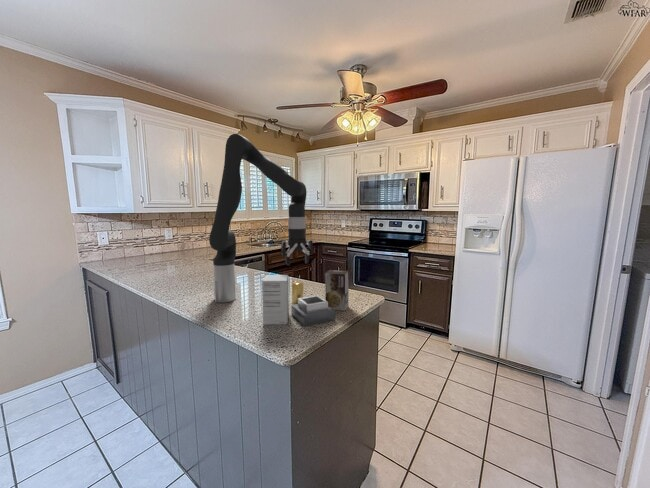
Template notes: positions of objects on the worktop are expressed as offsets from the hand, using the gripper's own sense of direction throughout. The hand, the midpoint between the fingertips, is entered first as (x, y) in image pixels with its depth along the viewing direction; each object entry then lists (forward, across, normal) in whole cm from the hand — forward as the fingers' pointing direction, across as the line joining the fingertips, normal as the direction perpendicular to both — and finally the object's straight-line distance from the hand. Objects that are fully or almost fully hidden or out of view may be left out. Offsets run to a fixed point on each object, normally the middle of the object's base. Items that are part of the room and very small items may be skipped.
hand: (297, 264), depth 120 cm
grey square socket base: (+19, 0, +16) cm, 25 cm away
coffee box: (+19, -14, +11) cm, 26 cm away
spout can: (+19, 0, -1) cm, 19 cm away
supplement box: (+19, +14, +12) cm, 26 cm away
